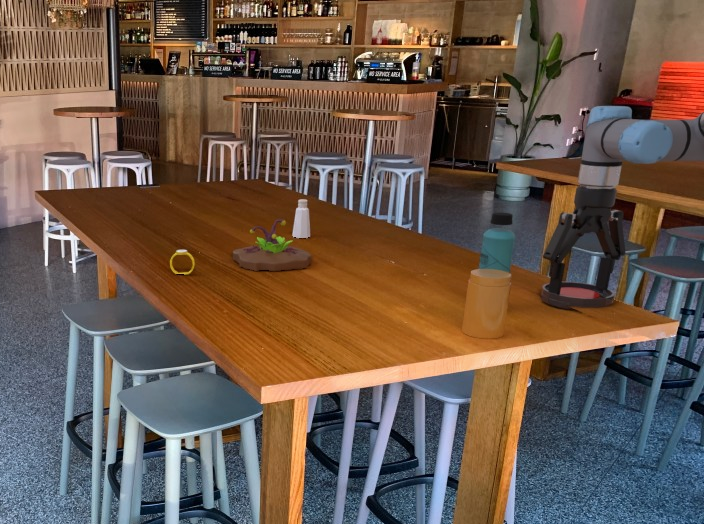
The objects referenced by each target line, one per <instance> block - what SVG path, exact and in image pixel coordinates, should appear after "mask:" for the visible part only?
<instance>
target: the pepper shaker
mask: <svg viewBox="0 0 704 524" xmlns="http://www.w3.org/2000/svg"><path fill="white" fill-rule="evenodd" d="M297 203H298V204H297V207H296V209H295V215H294V220H293V221H294V222H293V227H292V235H291V236H293V237H292V238H294V237H296V238H295V239H299V238H306V239H309V238H308V237H310V238H311V225H310V208H308V200H307V199H305V198H303V199H302V198H301V199H298V200H297Z"/></svg>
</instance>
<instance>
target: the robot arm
mask: <svg viewBox="0 0 704 524" xmlns="http://www.w3.org/2000/svg"><path fill="white" fill-rule="evenodd" d="M632 114H633V110H632V108H631V107H630V106H625V105H597V106H594V107H593V108H591V110H590V112H589V116H588V120H587V124H586V126H585V134H584V140H583V146H582V147H583V148H582V153H581V159H580V160H581V161H580V164H579V165H580V166H579V170H578V177H577V184H579V185H578V186H577V187H576V188H575V194H574V198H573V199H574V200H573V204H574V207H575V208H574V210H573V212H571V213H567V212H563V211H562V212H560V214H559V217H558V221H557V225H556V227H555V229H554V231H553V234H552V235H551V237H550V239H549V242H548V244H547V246H546V248H545V250H544V252H543V255H542V258H543V259H545V260H547V261H549V262H550V265H549V271H548V277H550V278H549V283H550V284H549V290H548V291H550V292H552V293H556V294H560V291H561V285H562V282H563V279H564V273H565V269H566V268H565V267H566V263H565V262H563V261H564V260H565V259H566V257H567V256H568V254H569V253H570V251H571V250H573V248H574V246H575V244H576V243H577V242H578V241H579V240H580V239H581V237H583V236H584V235H585V234H590V233H594V234H595V235H596V237H597V239H598V242H599V244H600V247H601V250H602V253H603V255H604V256H603V257H600V262H599V266H598V271H597V277H596V282H595V285H596V286H595V287H597V288H600V289H602V290H607V289H609V285H610V284H609V283H610V279H611V275H612V274H613V272H614V268H615V263H616V261H619V260H621V257H623V256H625V255H626V244H625V235H624V226H623V225H624V224H623V219H624V211H623V210H618V209H614V208H613V209H612V207H614V206H615V203H616V198H617V193H618V190H617V188H616V187H617V186H619V183H620V179H621V178H620V177H621V171H622V166H623V162H624V161H625V162H630V163H632V164H635V165H639V164H642V165H650V164H655V163H658V162H704V111H703V112H702V113H700V114H698V116H697V117H695V118H691V119H689V118H687V119H686V118H685V119H678V118H677V119H637V118H636V119H635V118H633V116H632Z"/></svg>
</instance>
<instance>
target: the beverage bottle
mask: <svg viewBox="0 0 704 524" xmlns="http://www.w3.org/2000/svg"><path fill="white" fill-rule="evenodd" d="M513 215H514V214H513V213H509V212H504V211H503V212H501V211H500V212H493V213H492V215H491V219H490V224H491V225H497V226H511V225H513V217H514V216H513ZM515 240H516V234H515V233H514V232H513V231H512V230H511V229H509V228H503V227H493V228H492V227H491V228H489V229H487V230H486V231H485V232H484V233H483V234H482V244H481V248H480V255H479V261H478V262H479V263H478V269H495V270H501V271H505V272H508V273H510V274H511V267H512V262H513V261H512V260H513V253H514V247H515V243H516V241H515Z"/></svg>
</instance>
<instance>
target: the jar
mask: <svg viewBox="0 0 704 524" xmlns="http://www.w3.org/2000/svg"><path fill="white" fill-rule="evenodd" d="M512 279H513V277H512V273H511V272H510V273H508V272H505V271H501V270H495V269H479V268H476V269H473V270H471V271H470V274H469V279H468V281H467V286H466V287H467V288H466V296H465V303H464V309H463V310H464V311H463V319H462V325H461V332H462V333H463V334H465V335H466V336H469V337H472V338H476V339H485V340H486V339H487V340H493V339H499V338H502V337H503V336H504V333H505V328H506V321H507V314H508V308H509V303H510V302H509V301H510V296H511V288H512V282H511V280H512Z"/></svg>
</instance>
